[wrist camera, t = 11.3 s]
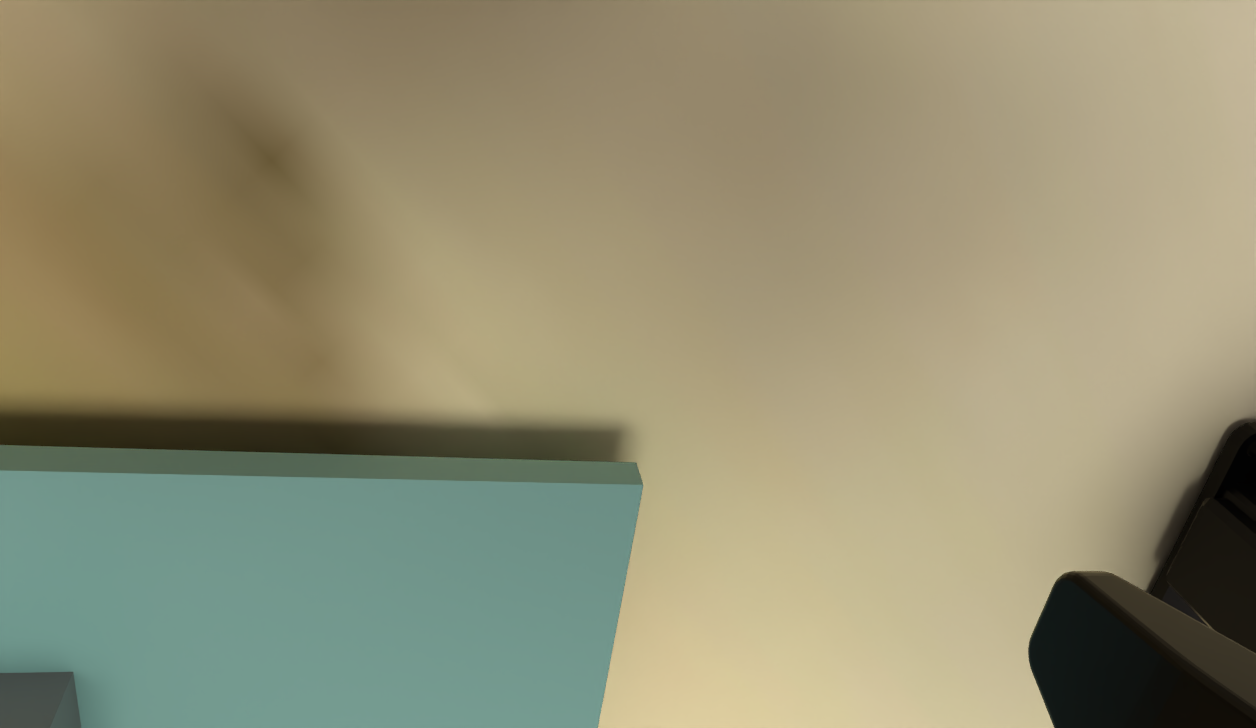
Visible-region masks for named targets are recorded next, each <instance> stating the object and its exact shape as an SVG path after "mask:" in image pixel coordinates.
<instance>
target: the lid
mask: <svg viewBox="0 0 1256 728" xmlns="http://www.w3.org/2000/svg"><path fill="white" fill-rule="evenodd" d="M642 489H643V482H642V479H641V476H640V473H639V470H638V467H637V464H636V463H634V462H598V461H562V460H526V459H489V458H453V457H417V456H381V455H345V454H308V453H272V452H236V451H200V450H163V449H127V448H91V447H55V446H18V445H0V728H598V723H599V718H600V713H601V707H602V702H603V697H604V691H605V686H606V681H607V675H608V670H609V665H610V659H611V654H612V649H613V643H614V638H615V633H616V628H617V622H618V617H619V612H620V606H621V601H622V596H623V590H624V585H625V580H626V574H627V569H628V564H629V558H630V553H631V548H632V542H633V537H634V532H635V527H636V521H637V516H638V511H639V505H640V500H641V495H642Z"/></svg>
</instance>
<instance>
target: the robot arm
mask: <svg viewBox="0 0 1256 728" xmlns="http://www.w3.org/2000/svg"><path fill="white" fill-rule="evenodd" d="M1028 654H1029V662H1030V667H1031V670H1032V673H1033V675H1034V678H1035V680H1036V683H1037V685H1038V688H1039V690H1040V693H1041V695H1042V698H1043V700H1044V703H1045V705H1046V708H1047V710H1048V713H1049V715H1050V718H1051V720H1052V723H1053V725H1054V728H1256V422H1253V423H1246V424H1244V425H1242V426H1240V427H1239V428H1237V429H1236V430H1235V431H1234V432H1233V433H1232V434H1231V436H1230V437H1229V439H1228V440H1227V442H1226V444H1225V446H1224V448H1223V450H1222V452H1221V454H1220V456H1219V458H1218V460H1217V462H1216V464H1215V466H1214V468H1213V470H1212V472H1211V474H1210V476H1209V478H1208V480H1207V482H1206V484H1205V486H1204V488H1203V490H1202V492H1201V494H1200V496H1199V498H1198V500H1197V502H1196V504H1195V506H1194V508H1193V510H1192V512H1191V514H1190V516H1189V518H1188V520H1187V522H1186V524H1185V526H1184V528H1183V530H1182V532H1181V534H1180V536H1179V538H1178V540H1177V542H1176V544H1175V546H1174V548H1173V550H1172V552H1171V554H1170V556H1169V558H1168V560H1167V562H1166V564H1165V566H1164V568H1163V570H1162V572H1161V574H1160V576H1159V578H1158V580H1157V582H1156V584H1155V586H1154V588H1153V590H1152V592H1151V594H1148V593H1147V592H1145V591H1143V590H1141V589H1140V588H1138V587H1136V586H1134V585H1132V584H1131V583H1129V582H1127V581H1125V580H1123V579H1122V578H1120V577H1118V576H1116V575H1114V574H1112V573H1108V572H1102V571H1071V572H1067V573H1064V574H1063V575H1062V576H1061V577H1059V578H1058V579H1057V580H1056V582H1055V584H1054V585H1053V587H1052V590H1051V592H1050V594H1049V597H1048V599H1047V601H1046V603H1045V606H1044V608H1043V610H1042V612H1041V615H1040V617H1039V619H1038V622H1037V624H1036V626H1035V628H1034V631H1033V633H1032V635H1031V638H1030V641H1029V648H1028Z"/></svg>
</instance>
